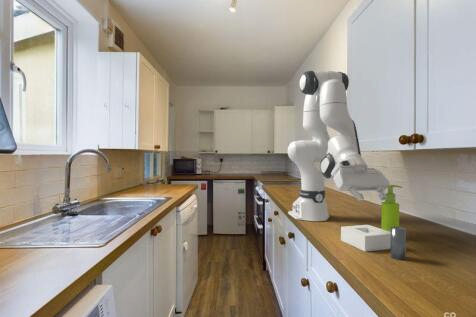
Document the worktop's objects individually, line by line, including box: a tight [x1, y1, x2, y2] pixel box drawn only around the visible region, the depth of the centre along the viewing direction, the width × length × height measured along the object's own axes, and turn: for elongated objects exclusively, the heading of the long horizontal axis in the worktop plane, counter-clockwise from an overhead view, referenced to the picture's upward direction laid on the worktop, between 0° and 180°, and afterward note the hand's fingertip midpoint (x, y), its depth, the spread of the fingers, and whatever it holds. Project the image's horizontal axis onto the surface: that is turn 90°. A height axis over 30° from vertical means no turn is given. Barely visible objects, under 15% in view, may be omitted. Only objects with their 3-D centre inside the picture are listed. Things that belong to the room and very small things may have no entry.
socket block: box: [340, 224, 391, 252], centre depth 94 cm, size 12×12×5 cm
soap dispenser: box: [380, 184, 403, 232], centre depth 102 cm, size 6×7×20 cm
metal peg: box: [389, 226, 407, 261], centre depth 81 cm, size 4×4×9 cm
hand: (372, 199), depth 91 cm, fingers open, 8 cm apart
